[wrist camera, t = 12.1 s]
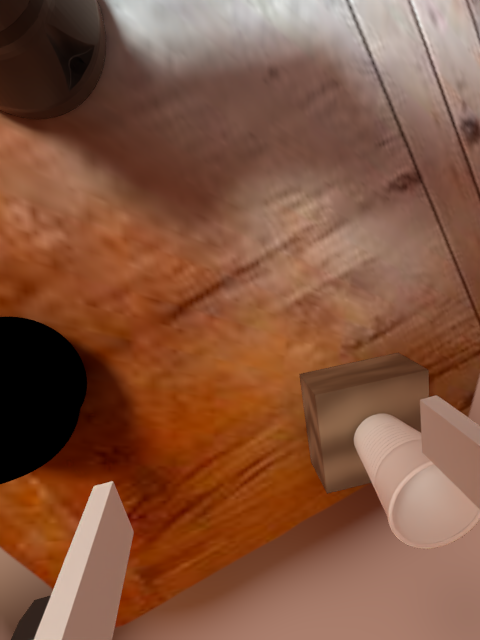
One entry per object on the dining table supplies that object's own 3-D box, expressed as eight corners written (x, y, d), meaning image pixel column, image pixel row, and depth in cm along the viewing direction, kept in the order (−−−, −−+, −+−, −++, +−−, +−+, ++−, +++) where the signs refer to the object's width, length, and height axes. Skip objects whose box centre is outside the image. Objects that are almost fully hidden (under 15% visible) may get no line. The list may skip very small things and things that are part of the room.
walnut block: (299, 374, 43) (315, 395, 37) (398, 352, 44) (428, 369, 38) (311, 462, 47) (327, 493, 41) (402, 440, 48) (430, 467, 42)
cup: (427, 408, 40) (510, 470, 29) (393, 475, 42) (460, 556, 31) (356, 388, 38) (418, 446, 27) (325, 460, 40) (371, 540, 29)
